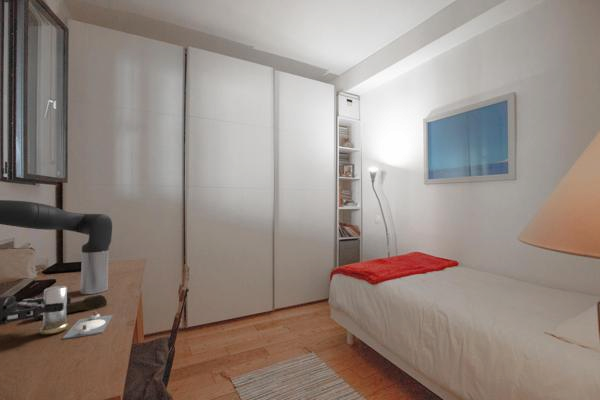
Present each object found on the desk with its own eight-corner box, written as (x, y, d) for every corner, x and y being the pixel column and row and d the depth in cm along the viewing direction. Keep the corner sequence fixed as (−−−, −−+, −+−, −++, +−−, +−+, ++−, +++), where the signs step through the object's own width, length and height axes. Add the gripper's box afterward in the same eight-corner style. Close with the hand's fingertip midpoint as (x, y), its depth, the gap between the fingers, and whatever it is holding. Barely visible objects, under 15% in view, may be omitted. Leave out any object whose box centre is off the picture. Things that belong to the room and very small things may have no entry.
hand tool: (32, 323, 83) (32, 308, 83) (34, 318, 86) (34, 304, 86) (106, 309, 95) (107, 296, 95) (106, 305, 98) (106, 293, 98)
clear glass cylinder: (46, 326, 79) (47, 286, 79) (71, 323, 81) (72, 284, 81) (35, 336, 73) (37, 292, 73) (63, 332, 76) (64, 290, 76)
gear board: (78, 320, 84) (79, 312, 85) (112, 315, 88) (112, 308, 88) (62, 339, 73) (62, 330, 73) (102, 333, 76) (102, 324, 76)
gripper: (-32, 307, 65) (57, 298, 72) (3, 290, 78) (76, 283, 85) (-33, 338, 65) (56, 326, 72) (2, 315, 78) (75, 307, 85)
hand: (66, 303), depth 78 cm, fingers closed on clear glass cylinder, 5 cm apart
